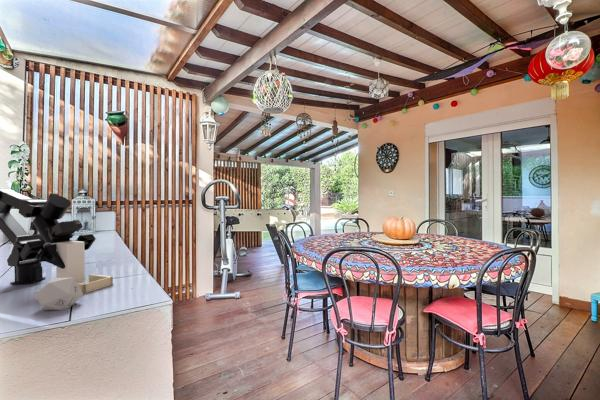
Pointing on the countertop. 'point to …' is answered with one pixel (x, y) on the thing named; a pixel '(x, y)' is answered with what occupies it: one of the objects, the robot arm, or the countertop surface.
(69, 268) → the block
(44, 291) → the die
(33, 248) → the robot arm
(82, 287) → the lane rack
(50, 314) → the countertop surface
